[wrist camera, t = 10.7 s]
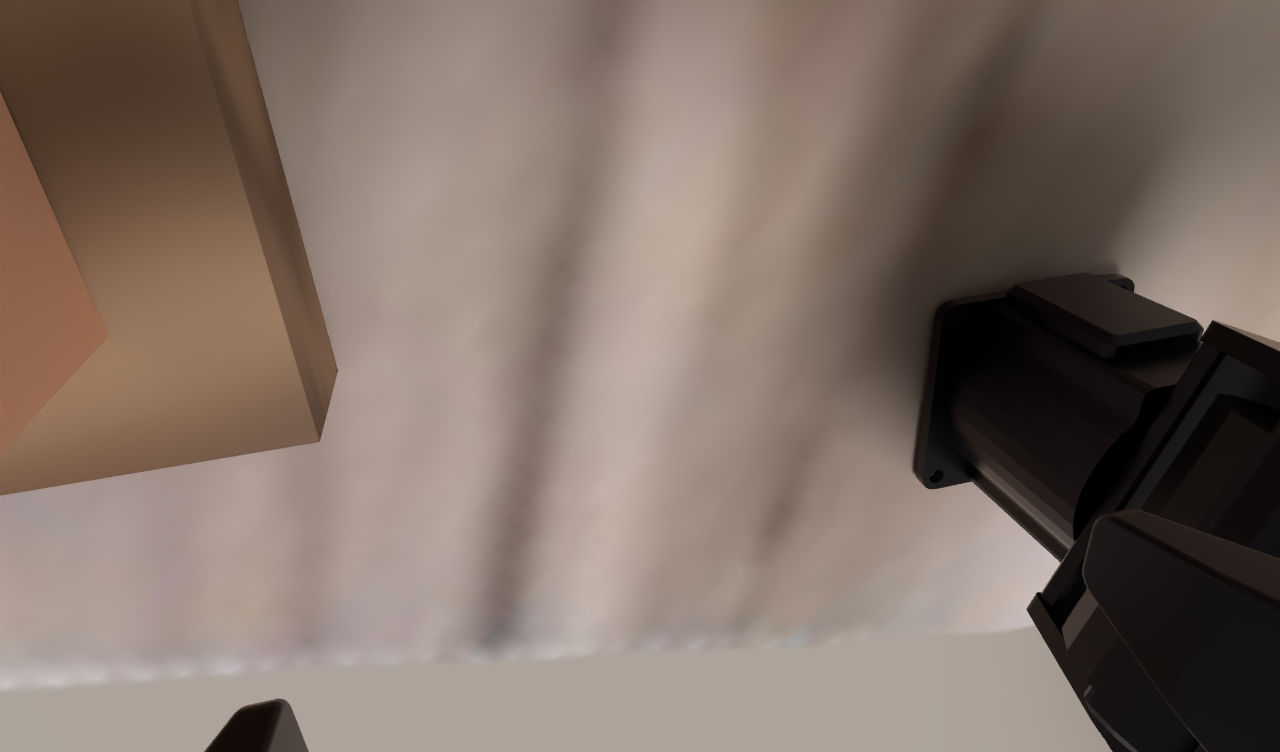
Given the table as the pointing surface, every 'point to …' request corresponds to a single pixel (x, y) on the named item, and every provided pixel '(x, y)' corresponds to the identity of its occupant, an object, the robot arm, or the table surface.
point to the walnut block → (164, 240)
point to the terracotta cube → (36, 293)
